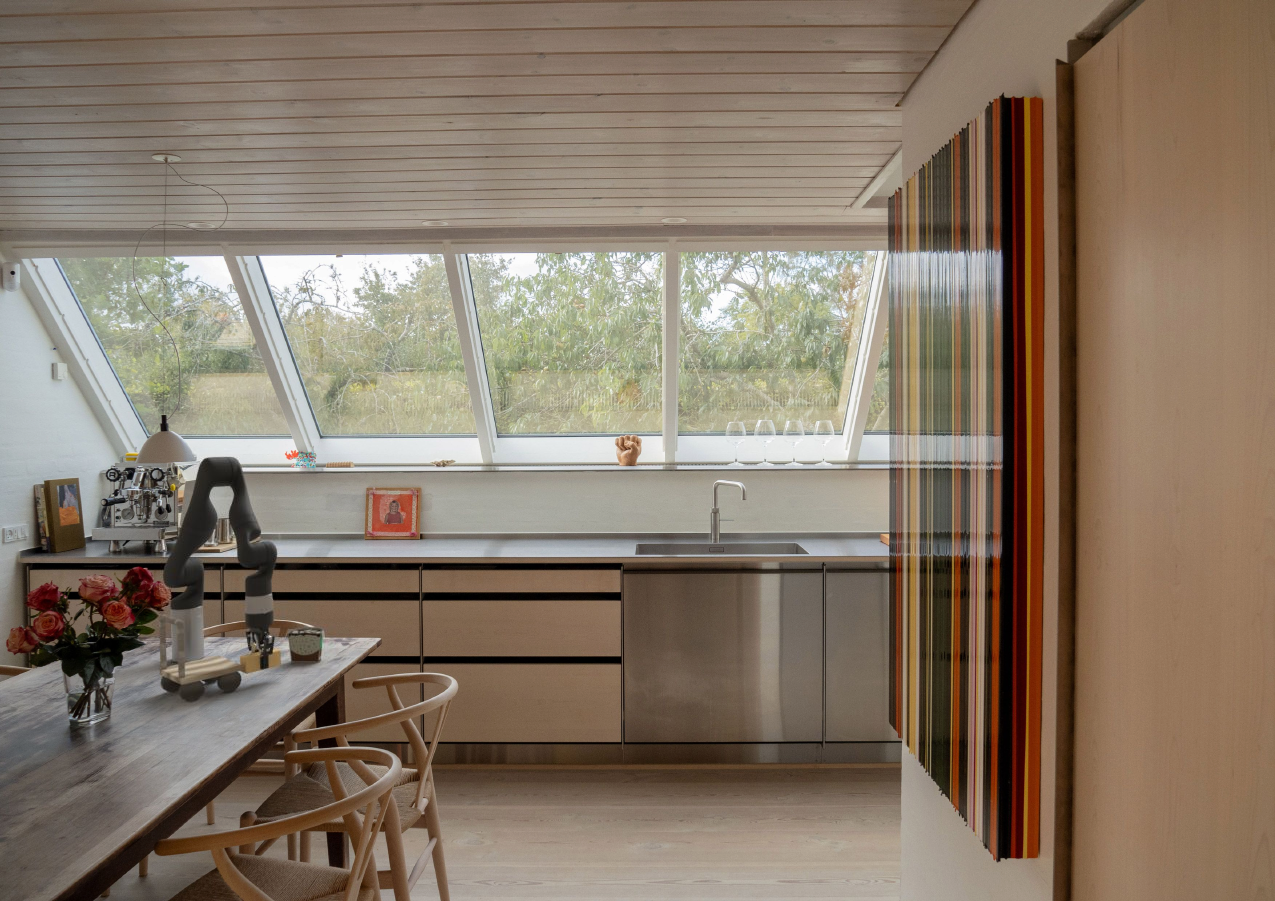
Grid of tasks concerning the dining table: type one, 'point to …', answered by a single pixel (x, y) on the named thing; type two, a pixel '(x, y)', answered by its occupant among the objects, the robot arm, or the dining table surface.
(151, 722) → the dining table surface
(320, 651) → the food container
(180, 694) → the trolley
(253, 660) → the block
